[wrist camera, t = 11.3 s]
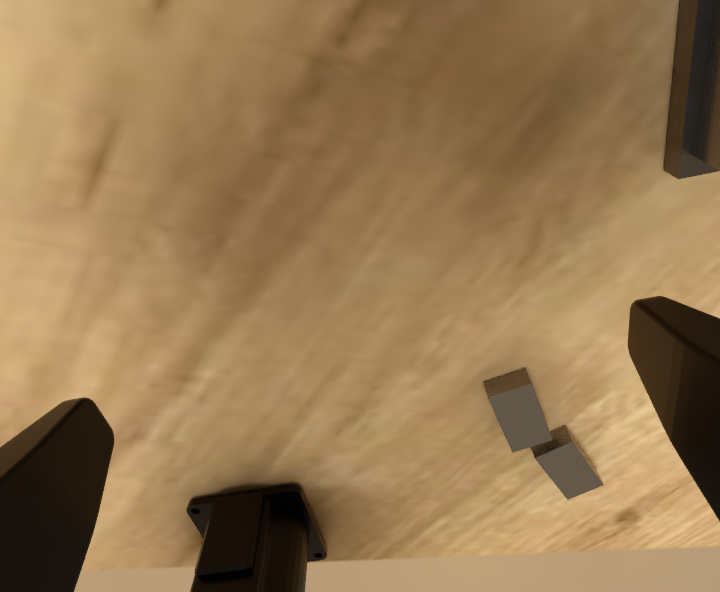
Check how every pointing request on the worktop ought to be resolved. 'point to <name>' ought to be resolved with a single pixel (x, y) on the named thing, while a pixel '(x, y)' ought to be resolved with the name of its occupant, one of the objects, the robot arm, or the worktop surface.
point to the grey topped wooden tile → (517, 410)
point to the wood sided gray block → (567, 464)
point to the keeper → (688, 89)
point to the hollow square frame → (711, 98)
